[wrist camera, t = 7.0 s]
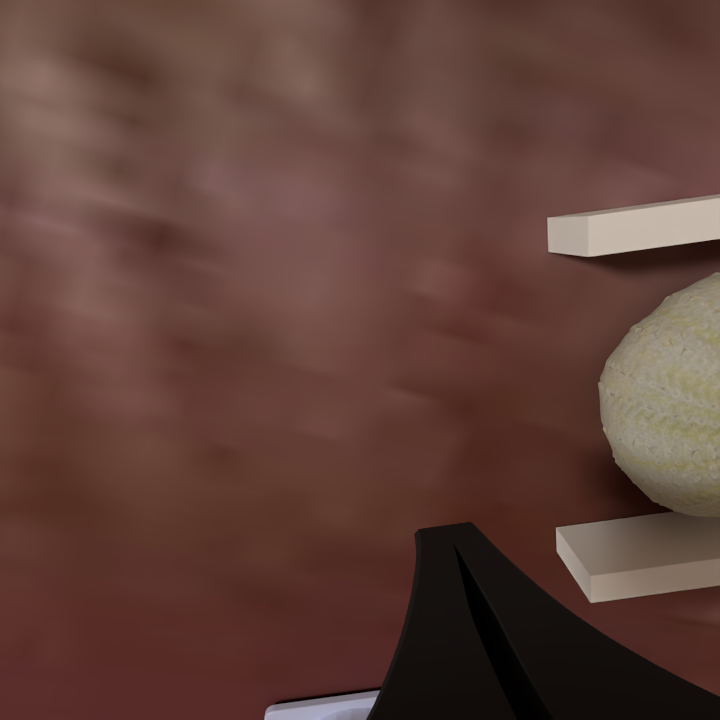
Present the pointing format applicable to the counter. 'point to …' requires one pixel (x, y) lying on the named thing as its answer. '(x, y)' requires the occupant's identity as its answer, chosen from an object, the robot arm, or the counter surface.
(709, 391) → the sea urchin shell
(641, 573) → the shallow white tray
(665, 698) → the robot arm
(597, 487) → the counter surface
